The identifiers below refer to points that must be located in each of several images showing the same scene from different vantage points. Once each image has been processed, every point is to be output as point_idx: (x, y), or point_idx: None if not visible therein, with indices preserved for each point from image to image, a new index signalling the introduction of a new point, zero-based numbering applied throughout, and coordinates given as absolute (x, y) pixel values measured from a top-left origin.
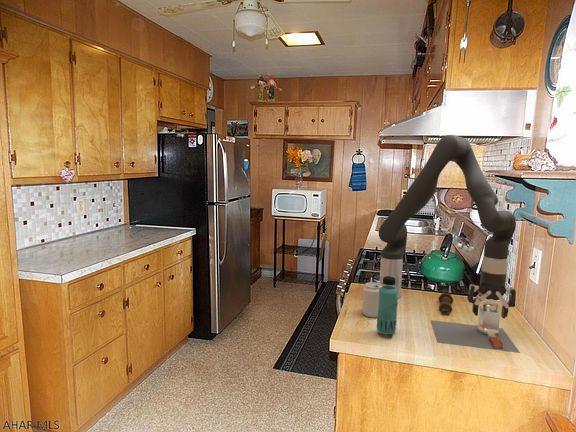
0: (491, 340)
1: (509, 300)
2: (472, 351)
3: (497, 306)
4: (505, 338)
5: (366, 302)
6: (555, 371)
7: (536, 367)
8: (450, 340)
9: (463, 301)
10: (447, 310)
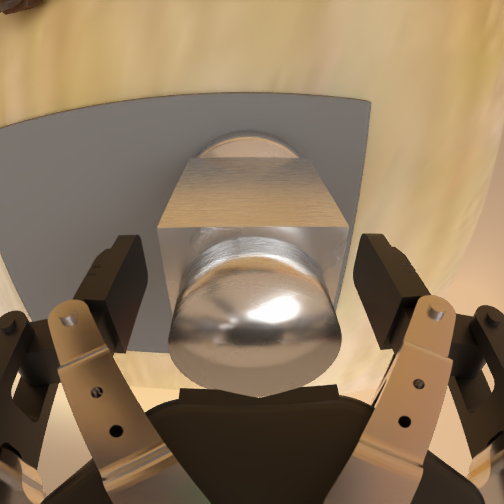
0: None
1: (485, 356)
2: (153, 355)
3: (318, 367)
4: None
5: None
6: (373, 384)
7: (333, 384)
8: None
9: None
10: (12, 7)
